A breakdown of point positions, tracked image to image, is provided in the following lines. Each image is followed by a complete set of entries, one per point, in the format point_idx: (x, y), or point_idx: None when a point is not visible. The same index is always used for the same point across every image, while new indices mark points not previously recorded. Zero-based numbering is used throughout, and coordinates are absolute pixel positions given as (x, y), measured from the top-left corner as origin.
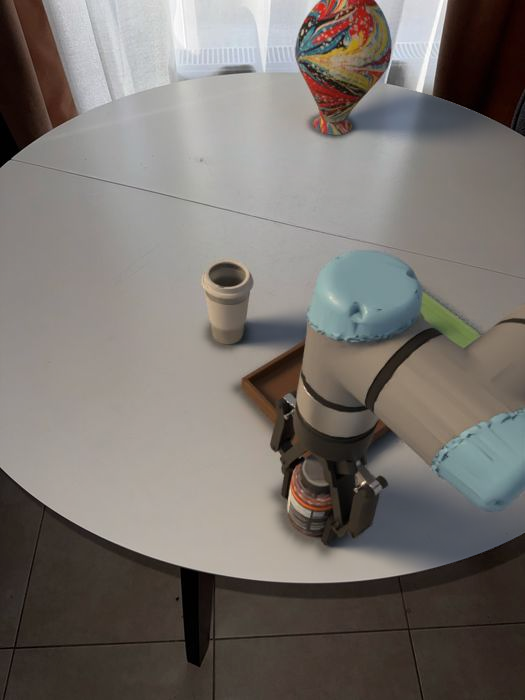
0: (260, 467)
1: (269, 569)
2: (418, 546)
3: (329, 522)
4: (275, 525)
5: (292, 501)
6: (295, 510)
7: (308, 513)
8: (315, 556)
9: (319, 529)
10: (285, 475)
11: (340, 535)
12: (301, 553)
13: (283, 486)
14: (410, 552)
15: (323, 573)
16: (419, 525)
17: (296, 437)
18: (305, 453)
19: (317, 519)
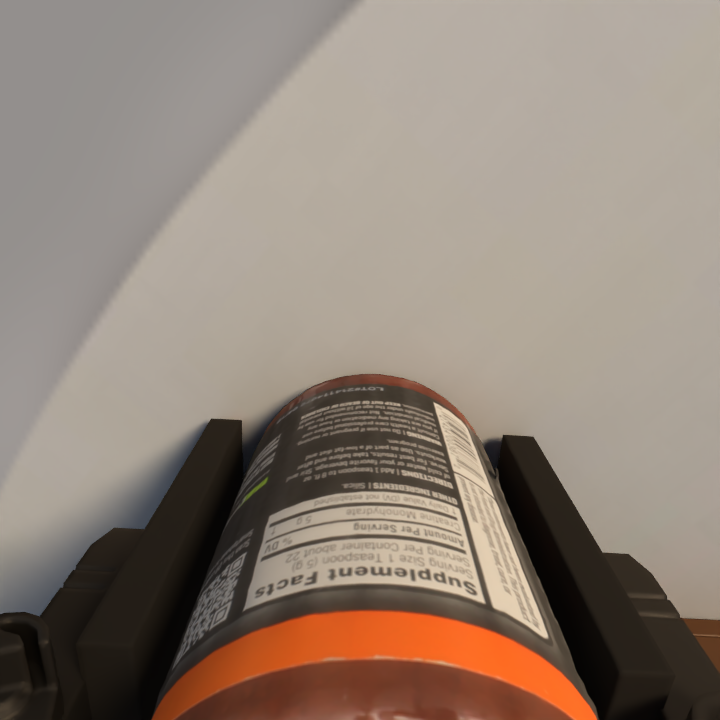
0: (701, 453)
1: (292, 127)
2: None
3: (130, 603)
4: (443, 313)
5: (437, 523)
6: (384, 476)
7: (270, 556)
8: (204, 352)
9: (251, 466)
10: (617, 603)
11: (98, 549)
12: (255, 313)
13: (558, 494)
14: None
15: (120, 325)
16: None
17: None
18: None
19: (228, 543)
